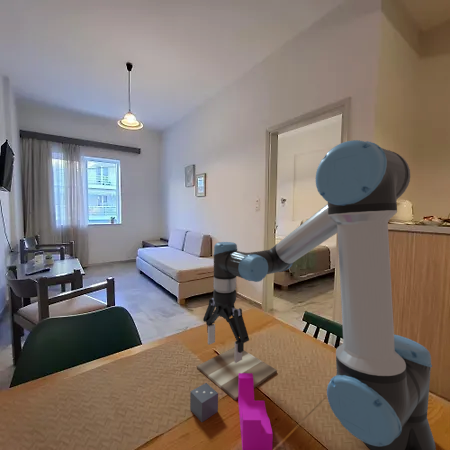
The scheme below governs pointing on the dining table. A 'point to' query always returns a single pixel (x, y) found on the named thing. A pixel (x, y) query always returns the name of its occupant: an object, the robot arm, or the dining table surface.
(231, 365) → the board
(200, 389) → the die
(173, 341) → the dining table surface
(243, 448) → the toy block
